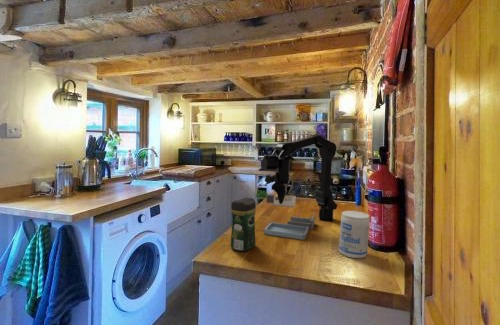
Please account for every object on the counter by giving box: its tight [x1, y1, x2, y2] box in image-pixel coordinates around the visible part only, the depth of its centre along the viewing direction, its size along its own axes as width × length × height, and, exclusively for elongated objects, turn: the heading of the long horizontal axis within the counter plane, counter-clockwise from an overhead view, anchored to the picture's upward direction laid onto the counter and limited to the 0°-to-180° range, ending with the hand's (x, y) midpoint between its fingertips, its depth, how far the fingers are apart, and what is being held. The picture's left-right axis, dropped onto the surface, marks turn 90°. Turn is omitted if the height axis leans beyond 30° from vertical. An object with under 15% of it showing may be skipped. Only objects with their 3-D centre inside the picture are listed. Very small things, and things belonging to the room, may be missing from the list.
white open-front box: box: [266, 193, 297, 208], centre depth 128 cm, size 13×6×4 cm, turn 69°
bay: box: [286, 215, 315, 231], centre depth 129 cm, size 12×9×4 cm
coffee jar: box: [230, 196, 257, 252], centre depth 101 cm, size 10×8×19 cm
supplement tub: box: [338, 210, 371, 259], centre depth 98 cm, size 10×10×15 cm
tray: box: [263, 222, 309, 241], centre depth 119 cm, size 17×11×2 cm, turn 70°
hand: (282, 202), depth 128 cm, fingers closed on white open-front box, 6 cm apart
